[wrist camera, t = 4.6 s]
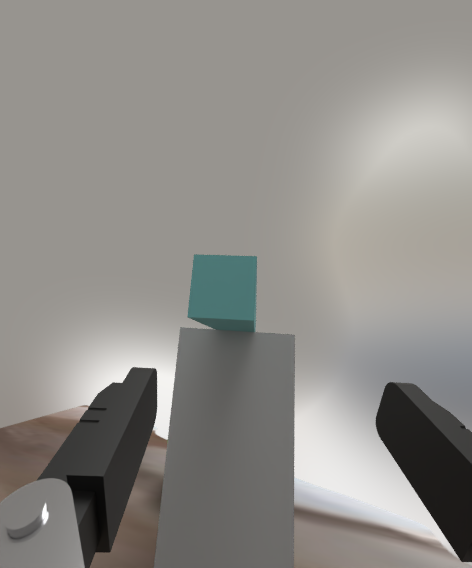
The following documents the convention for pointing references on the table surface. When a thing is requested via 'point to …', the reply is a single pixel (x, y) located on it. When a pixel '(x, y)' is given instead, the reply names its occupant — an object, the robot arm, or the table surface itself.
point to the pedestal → (230, 453)
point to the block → (224, 292)
